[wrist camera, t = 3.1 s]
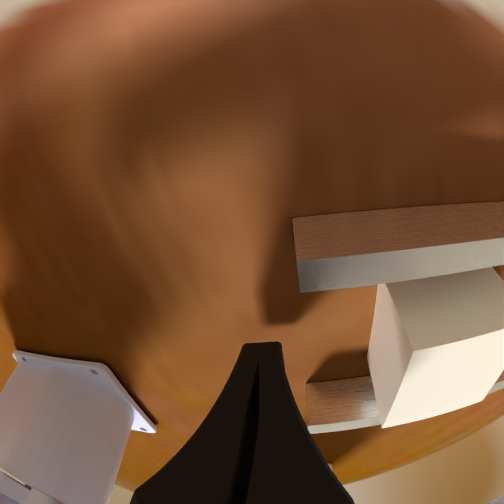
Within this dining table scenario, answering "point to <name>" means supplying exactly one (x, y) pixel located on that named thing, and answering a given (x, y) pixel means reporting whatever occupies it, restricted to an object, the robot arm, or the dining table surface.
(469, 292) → the block
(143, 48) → the dining table surface
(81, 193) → the dining table surface
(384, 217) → the channel
